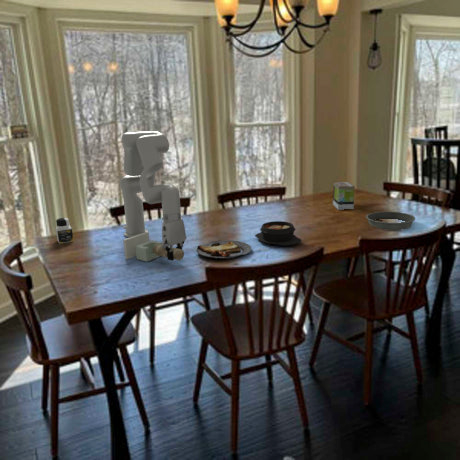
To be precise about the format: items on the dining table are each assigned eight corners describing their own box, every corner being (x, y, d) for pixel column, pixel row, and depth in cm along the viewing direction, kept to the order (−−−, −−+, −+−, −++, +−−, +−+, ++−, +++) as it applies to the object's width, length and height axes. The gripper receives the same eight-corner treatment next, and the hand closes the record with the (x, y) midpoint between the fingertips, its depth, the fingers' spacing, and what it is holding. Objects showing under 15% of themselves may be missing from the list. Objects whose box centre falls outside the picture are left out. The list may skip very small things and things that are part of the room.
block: (136, 259, 201) (135, 246, 199) (153, 252, 208) (152, 240, 207) (146, 261, 197) (145, 248, 195) (163, 255, 204) (162, 242, 203)
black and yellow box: (59, 244, 228) (55, 221, 225) (57, 240, 234) (53, 218, 231) (73, 241, 231) (70, 219, 228) (71, 238, 237) (68, 216, 234)
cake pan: (394, 217, 254) (394, 209, 253) (425, 227, 231) (425, 219, 230) (356, 222, 247) (356, 214, 246) (384, 233, 224) (384, 225, 223)
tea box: (354, 209, 272) (355, 185, 268) (337, 210, 273) (338, 186, 268) (348, 204, 287) (349, 181, 283) (332, 204, 287) (333, 181, 283)
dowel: (153, 256, 197) (152, 245, 196) (161, 253, 201) (160, 242, 200) (176, 261, 189) (175, 251, 188) (184, 258, 193) (183, 247, 191)
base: (125, 258, 202) (123, 239, 200) (148, 250, 213) (146, 231, 210) (127, 259, 201) (125, 240, 199) (150, 250, 212) (148, 232, 210)
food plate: (207, 264, 191) (207, 256, 190) (189, 249, 212) (189, 242, 211) (259, 256, 200) (259, 248, 200) (237, 242, 221) (237, 236, 220)
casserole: (246, 240, 222) (245, 224, 220) (273, 232, 233) (273, 216, 231) (282, 252, 203) (282, 234, 201) (310, 243, 214) (310, 226, 212)
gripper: (163, 222, 179) (167, 265, 184) (192, 213, 192) (194, 253, 197) (150, 220, 183) (154, 262, 188) (179, 211, 196) (182, 251, 201)
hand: (175, 257), depth 192 cm, fingers closed on dowel, 4 cm apart
